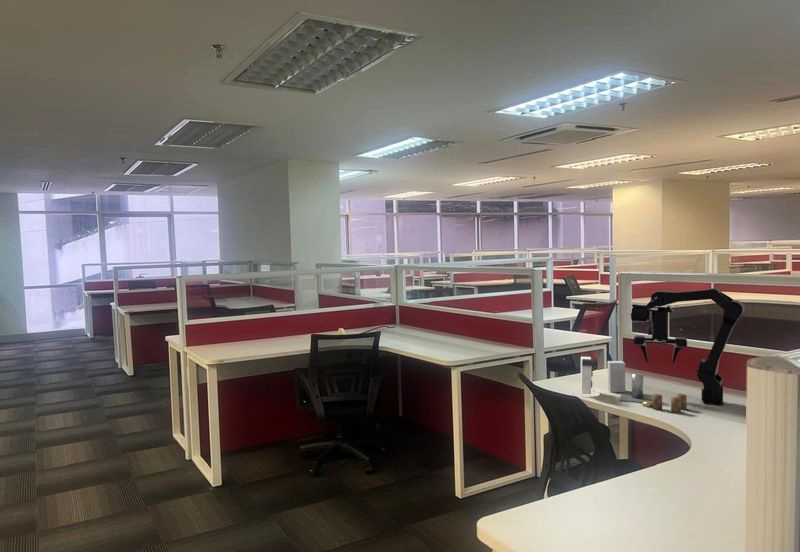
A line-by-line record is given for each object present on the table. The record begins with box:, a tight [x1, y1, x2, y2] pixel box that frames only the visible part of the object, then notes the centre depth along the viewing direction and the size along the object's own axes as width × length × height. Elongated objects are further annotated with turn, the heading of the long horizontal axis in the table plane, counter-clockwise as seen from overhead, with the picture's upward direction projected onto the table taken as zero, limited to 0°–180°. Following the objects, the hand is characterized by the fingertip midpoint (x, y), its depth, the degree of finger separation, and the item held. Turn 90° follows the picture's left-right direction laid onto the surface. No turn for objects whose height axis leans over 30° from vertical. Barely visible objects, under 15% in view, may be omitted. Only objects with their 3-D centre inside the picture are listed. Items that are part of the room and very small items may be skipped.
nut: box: [642, 401, 653, 408], centre depth 212 cm, size 4×4×2 cm
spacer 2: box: [670, 396, 682, 414], centre depth 203 cm, size 3×3×5 cm
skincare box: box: [607, 360, 626, 393], centre depth 233 cm, size 6×4×12 cm
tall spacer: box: [631, 372, 644, 399], centre depth 221 cm, size 4×4×9 cm
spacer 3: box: [676, 393, 688, 411], centre depth 207 cm, size 3×3×5 cm
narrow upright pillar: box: [570, 353, 601, 394], centre depth 230 cm, size 12×11×15 cm
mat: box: [619, 391, 653, 404], centre depth 221 cm, size 12×12×1 cm
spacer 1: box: [652, 393, 663, 411], centre depth 208 cm, size 3×3×5 cm
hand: (659, 362), depth 224 cm, fingers open, 9 cm apart
